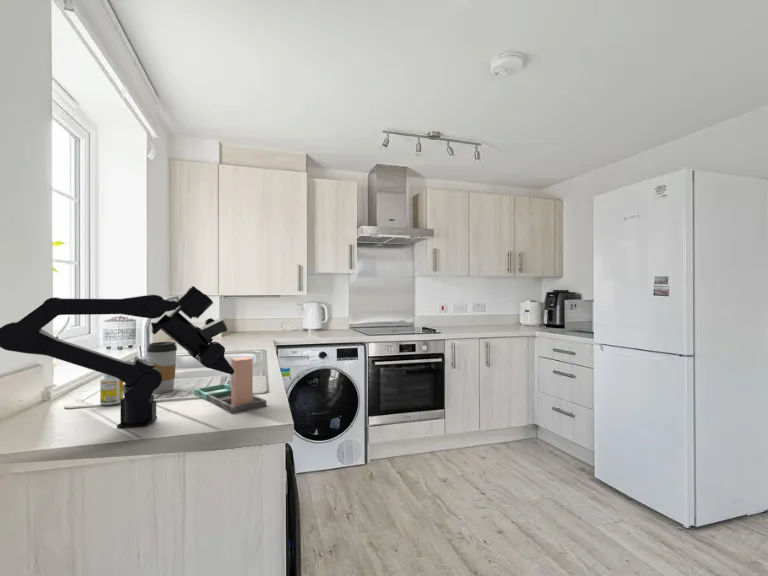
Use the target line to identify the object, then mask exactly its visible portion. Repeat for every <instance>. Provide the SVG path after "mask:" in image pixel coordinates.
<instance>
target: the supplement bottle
mask: <svg viewBox="0 0 768 576" xmlns="http://www.w3.org/2000/svg"><path fill="white" fill-rule="evenodd" d="M102 374H103V376H102V377H101V378H100V382H99V384H100V389H99V390H100V392H99V393H100V395H99V396H100V398H99V401H100V405H102V406H112V405H113V406H114V405H117V404H120V399H122V398H124V393H123V386H124V382H122V381H121V380H119V379H118V378H116V377H113V376H110V375H107V374H104V373H102Z"/></svg>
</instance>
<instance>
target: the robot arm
mask: <svg viewBox="0 0 768 576" xmlns="http://www.w3.org/2000/svg"><path fill="white" fill-rule="evenodd" d="M213 304H214V301H213V300H212V299H211V298H210V297H209V296H208V295H207V294H206V293H204V292H202V291H201V290H199V289H198V288H196V287H195V286H194V285H193V286H192V285H191V286H190V287H189V288H188V290H187V291H186V292H185V293H184V294H183V295H182V296H181V297H179V298H178V299H177V300H175V299H171V300H168V299H166V300H165V298H164V297H162V296H161V295H159V294H145V295H136V296H131V297H124V298H70V297H69V298H68V297H67V298H65V297H64V298H63V297H62V298H61V297H59V296H56V297H50V298H49V297H48V299H46V300H45V301H44V302H43V303H42V304H40V305H39V306H38V307H37V308H36V307H35V309H34V310H32V311H31V312H29V313H28V314H27V315H26V316H24V317H22V318H21V319H20V320H16V321H12V322H8V323H6V324H4V325H2V326H1V327H0V348H1V349H2V350H5V351H10V352H15V353H16V352H17V353H21V354H28V355H37V356H38V355H39V356H48V357H50V358H53V359H56V360H60V361H63V362H67V363H69V364H72V365H75V366H79V367H83V368H84V369H85V368H86V369H88V370H91V371H95V372H98V373H101V374H103V373H104V374H107V375H110V376H113V377H116V378H118V379H119V380H121V381H122V382H123V398H122V399H120V403H119V404H120V407H119V409H120V414H119V415H120V421H119V422H120V423H118V424H117V425H116V428H133V427H135V428H136V427H146V426H148V425H149V424H151V423H152V422H153V421H154V420H156V419H157V418H158V415H157V401H156V400H155V394H153V391H154V390H155V389H157V388H158V387H159V386H160V384H161V381H162V376H161V373H160V372H159V370H158V369H157V368H156V367H155V366H154V364H153V363H152V362H149V361H146V360H143V359H141V358H139V356H138V357H137V356H135V357H134V358H133V361H129V360H128V361H127V360H121V359H119V358H115V357H113V356H110V355H107V354H104V353H101V352H99V351H95V350H93V349H89V348H87V347H84V346H81V345H78V344H75V343H72V342H69V341H67V340H63V339H59V338H57V337H56V336H54V335H52V334H51V333H49V332H48V331H46V330H44V329H43V328H44V327H46V326H47V325H48V324H49V323H50V322H52V321H53V320H54V319H56V317H58V316H68V315H69V316H73V315H74V316H75V315H77V316H78V315H79V316H81V315H83V316H85V315H89V316H90V315H123V316H131V317H138V318H144V319H145V318H146V319H152V320H153V319H159V318H160V317H161V318H160V319H159V320H158V321H156V322H150V326H151V334H153V335H156V334H157V333H159V331H160V330H161V331H162V332H163V333H165V334H166V335H167V336H168V337H170V339H172V340H173V342H175V343H176V344H178V345H179V346H181V348H183V349H184V350H185V351H187V354H188V355H190V356H191V357H192V358H194V359H195V360H196V361H197V362H199V363H200V364H201V365H202V366H204V367H205V368H207V369H210V370H214V371H218V372H221V373H225V374H228V375H230V376H231V375H232V374H233V373H234V372H235V371H234V370H233V368H232V367H231V363H229V361H228V360H227V359H226V357H225V352H226V348H225V346H223V345H222V343H220V342H218V341H214V339H213V338H214V337H216V336H218V335H220V334H221V333H225V332H227V331H228V330H229V329H228V328H227V325H226V323H225V321H224V320H223V318H217V319H213V318H212V317H209V318H207V319H205V321H204V325H203V326H201V327H199V326H197V325H194V324H193V323H191V322H190V321H189V320H188V319H187V318H189V319H190V320H192V319H193V318H194V319H195V318H196V319H199V318H200V317H201V316H202V315H203V314H204V313H205V312H206V311H207V310H208V309H209V308H210V307H212V305H213ZM170 311H171V314H169V315H168V314H165V313H167V312H170ZM172 311H173V312H172ZM180 312H182V314H184V315H185V316H186V317H187V318H186V317H185V316H184V315H182V314H181V313H180ZM104 374H103V375H104Z"/></svg>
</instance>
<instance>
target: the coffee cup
mask: <svg viewBox="0 0 768 576" xmlns="http://www.w3.org/2000/svg"><path fill="white" fill-rule="evenodd" d="M177 348H178V347H177V345H176V341H158V342H151V343H149V344H148V347H147V350H146V353H147V358H148V361H147V362H152V363H153V364H154V366H155V367H156V368H157V369H158V370H159V372H160V373H161V376H162V381H161V384H160V386H159V387H158V388H157V389H155V390H154V391H153V393H154V394H164V393H169V392H171V391H173V389H174V387H175V377H176V364H177V363H176V361H177V360H176V359H177V350H178V349H177ZM153 393H152V394H153Z"/></svg>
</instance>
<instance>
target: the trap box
mask: <svg viewBox="0 0 768 576" xmlns="http://www.w3.org/2000/svg"><path fill="white" fill-rule="evenodd" d="M194 395H196V396H198V395H199V396H198V397H200V396H202V397H203V398H202V397H201V398H202V399H204V398H205V399H206V400H205V399H204V400H205V401H207V400H208V401H207V402H209V401H210V403H211V402H212V403H211V404H213V403H214V404H213V405H215V406H217V407H219V408H221V409H223V410H225V411H226V412H229V413H230V414H235V413H241V412H245V411H250V410H254V409H258V408H264V407H267V399H265V398H262V397H259V396H257V395H256V394H255V395H254V394H253V402H252V403H247V404H243V405H238V406H232V405H231V384H227V383H222V384H215V385H211V386H210V385H209V386H204V387H199V388H194Z"/></svg>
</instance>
